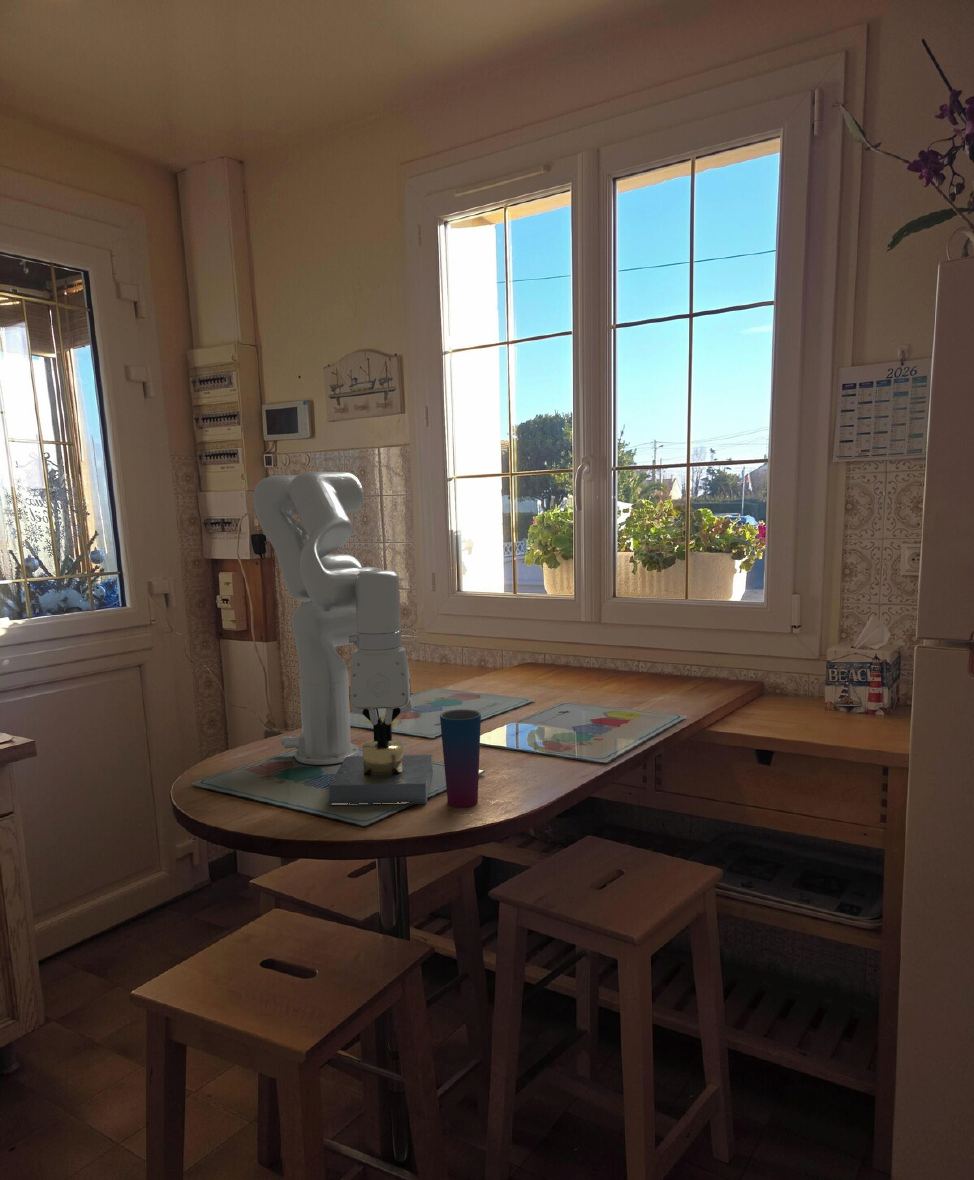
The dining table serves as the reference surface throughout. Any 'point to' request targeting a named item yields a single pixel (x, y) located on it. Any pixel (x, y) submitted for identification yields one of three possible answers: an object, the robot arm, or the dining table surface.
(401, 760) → the bushing
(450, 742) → the cup
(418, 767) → the block
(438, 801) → the dining table surface
